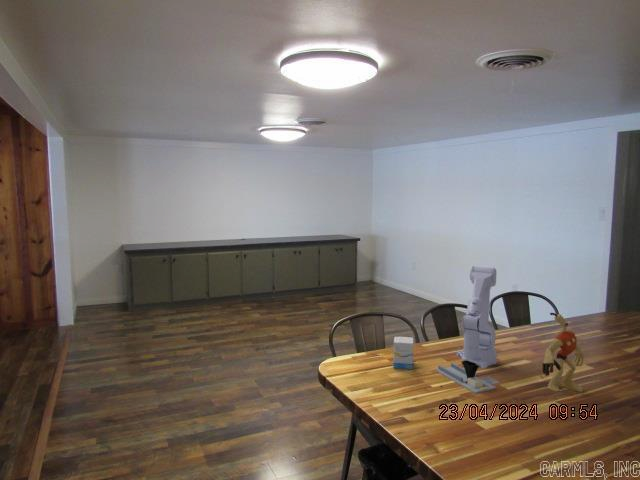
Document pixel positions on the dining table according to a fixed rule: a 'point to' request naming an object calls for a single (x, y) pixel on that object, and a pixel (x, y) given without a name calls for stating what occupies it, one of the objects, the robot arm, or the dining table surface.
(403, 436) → the dining table surface
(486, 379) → the pad
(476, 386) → the block
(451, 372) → the rail board
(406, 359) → the ink box
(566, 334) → the toy
